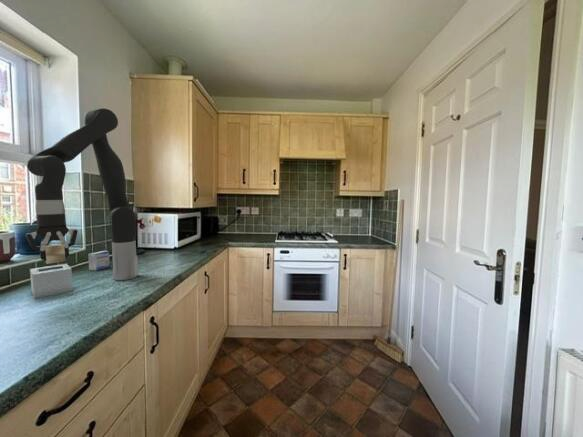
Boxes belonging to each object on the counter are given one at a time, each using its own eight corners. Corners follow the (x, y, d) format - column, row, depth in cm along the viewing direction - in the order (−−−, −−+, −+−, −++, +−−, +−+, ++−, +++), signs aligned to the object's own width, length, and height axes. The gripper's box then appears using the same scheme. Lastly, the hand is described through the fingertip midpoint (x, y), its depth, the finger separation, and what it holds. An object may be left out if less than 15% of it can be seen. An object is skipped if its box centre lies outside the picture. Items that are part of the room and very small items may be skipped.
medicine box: (96, 270, 129) (95, 254, 129) (88, 270, 130) (87, 253, 130) (109, 266, 137) (109, 250, 136) (103, 266, 138) (102, 250, 137)
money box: (67, 284, 110) (66, 263, 109) (72, 290, 102) (71, 268, 102) (31, 291, 101) (29, 268, 101) (34, 298, 94) (32, 274, 93)
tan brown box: (63, 259, 96) (62, 243, 95) (65, 261, 94) (64, 245, 93) (45, 262, 92) (44, 246, 91) (46, 263, 90) (45, 247, 89)
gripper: (74, 211, 99) (78, 254, 101) (21, 213, 88) (26, 261, 90) (79, 212, 94) (82, 257, 96) (23, 214, 83) (28, 265, 85)
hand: (55, 259), depth 93 cm, fingers closed on tan brown box, 5 cm apart
